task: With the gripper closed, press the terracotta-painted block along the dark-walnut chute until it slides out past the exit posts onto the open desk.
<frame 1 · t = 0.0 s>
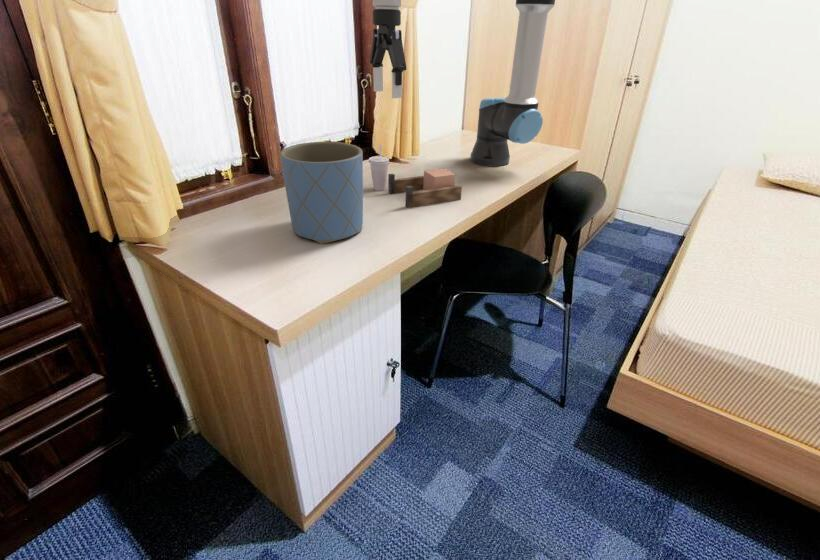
hand: (387, 94, 126), 28 cm above the table, fingers open, 13 cm apart
block: (438, 194, 137), on the table
smoothie: (379, 189, 140), on the table
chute: (424, 196, 135), on the table
planter: (328, 230, 112), on the table
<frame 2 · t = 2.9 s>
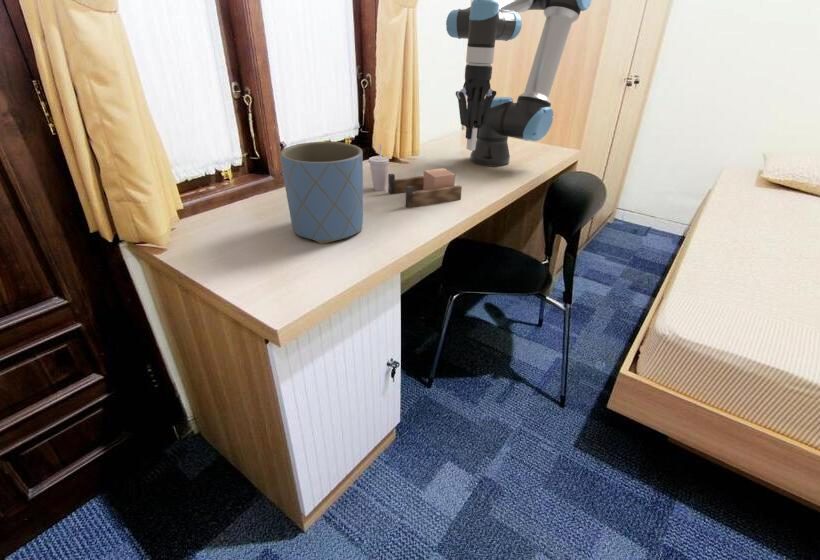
hand: (470, 149, 134), 13 cm above the table, fingers closed
nothing on the table moved.
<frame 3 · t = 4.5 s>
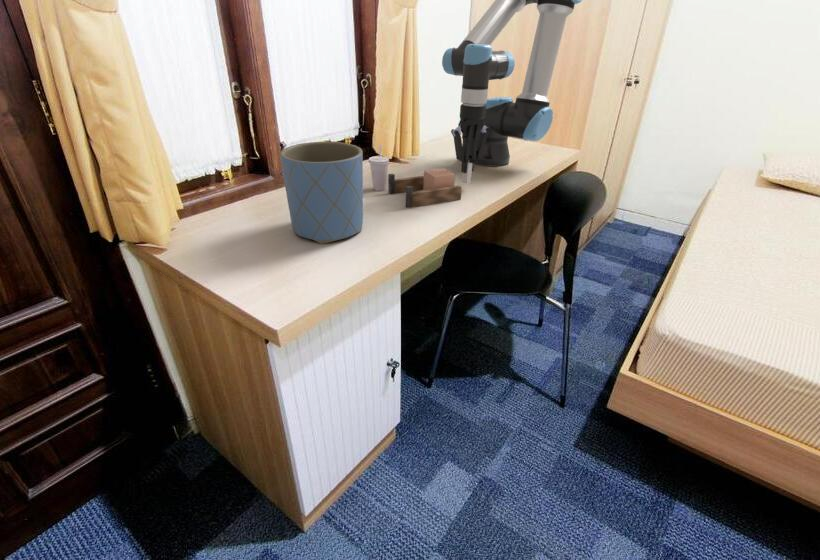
hand: (466, 182, 139), 2 cm above the table, fingers closed
nothing on the table moved.
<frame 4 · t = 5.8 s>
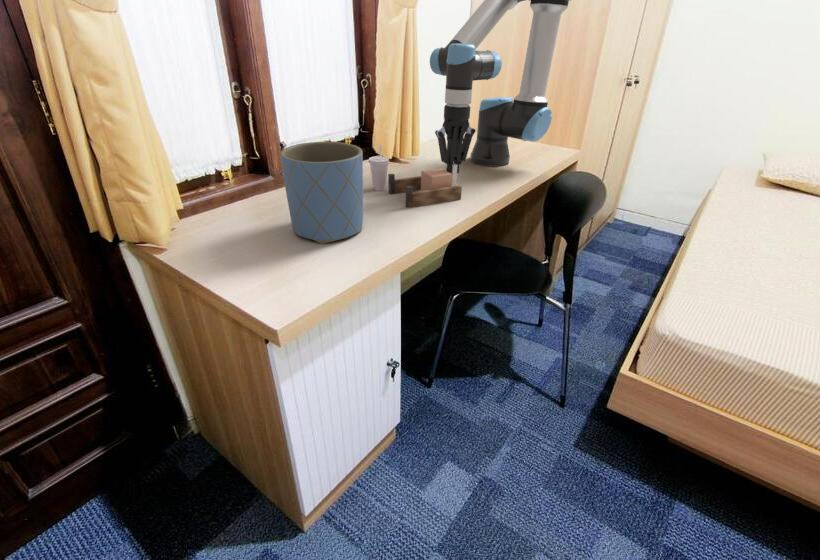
hand: (451, 184, 137), 3 cm above the table, fingers closed
block: (435, 194, 136), on the table, touching gripper
everything else where it was.
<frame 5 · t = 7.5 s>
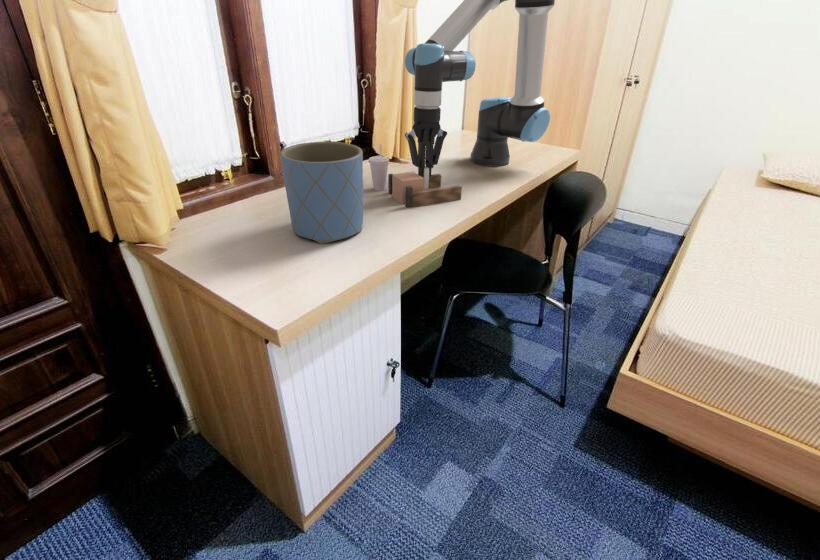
hand: (424, 188, 133), 3 cm above the table, fingers closed
block: (407, 198, 132), on the table, touching gripper
everything else where it was.
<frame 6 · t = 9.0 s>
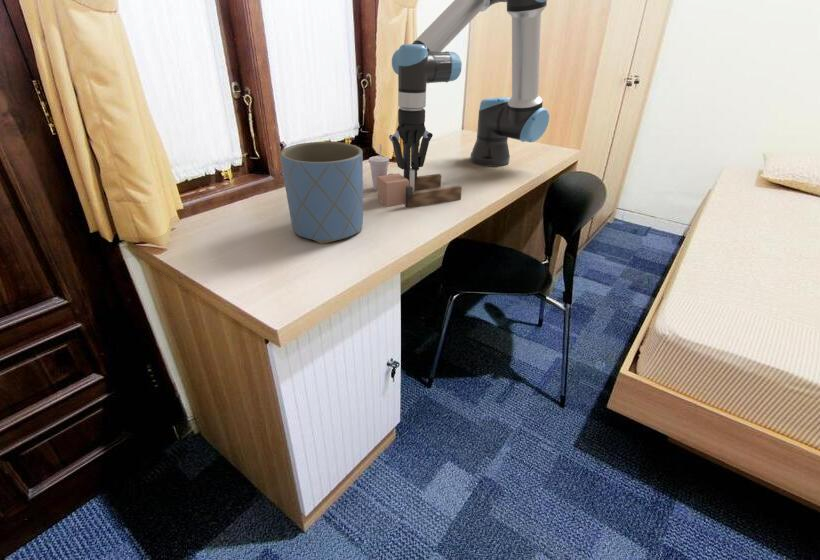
hand: (410, 190, 131), 2 cm above the table, fingers closed
block: (392, 200, 131), on the table, touching gripper
everything else where it was.
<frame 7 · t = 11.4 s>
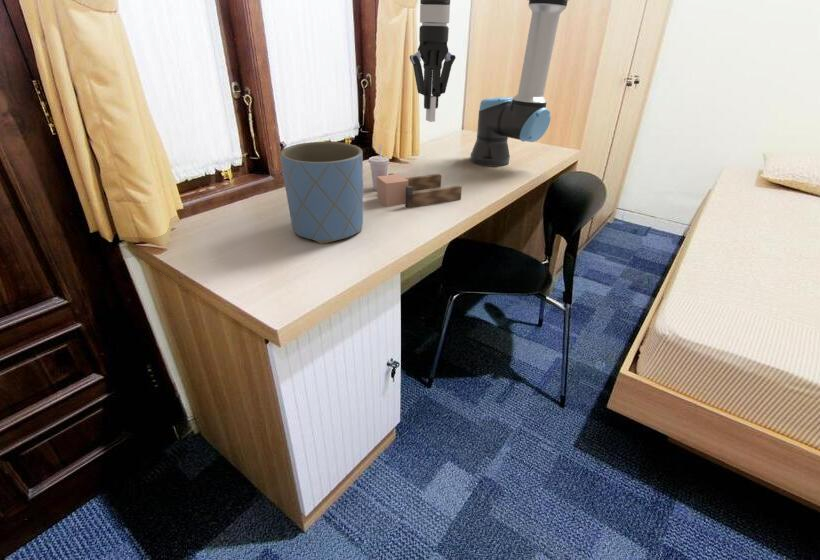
hand: (430, 120, 124), 22 cm above the table, fingers closed
block: (392, 201, 131), on the table
everything else where it was.
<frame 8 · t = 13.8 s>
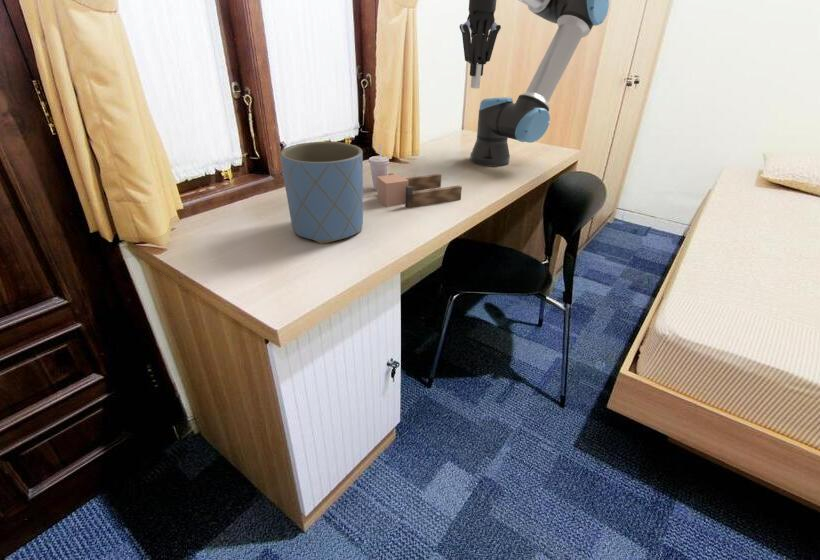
hand: (474, 87, 133), 29 cm above the table, fingers closed
nothing on the table moved.
at the end: block inside the target area (5.0 cm from its centre), on the table; block moved 15.7 cm from its start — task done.
